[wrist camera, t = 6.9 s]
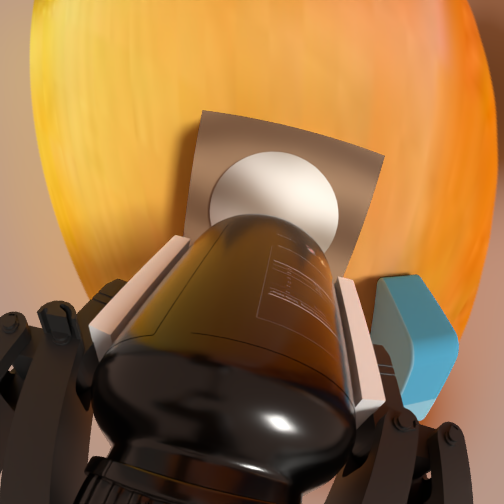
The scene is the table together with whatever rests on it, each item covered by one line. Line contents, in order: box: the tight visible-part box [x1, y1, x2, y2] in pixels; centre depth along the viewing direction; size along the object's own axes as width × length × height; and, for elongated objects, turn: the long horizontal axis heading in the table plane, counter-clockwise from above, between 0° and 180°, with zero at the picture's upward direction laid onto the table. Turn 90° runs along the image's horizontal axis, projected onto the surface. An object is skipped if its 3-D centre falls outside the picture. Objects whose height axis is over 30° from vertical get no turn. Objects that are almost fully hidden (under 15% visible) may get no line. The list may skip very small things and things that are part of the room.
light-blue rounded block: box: [370, 275, 459, 421], centre depth 23 cm, size 12×4×12 cm, turn 8°
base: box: [183, 110, 385, 285], centre depth 23 cm, size 14×14×4 cm
